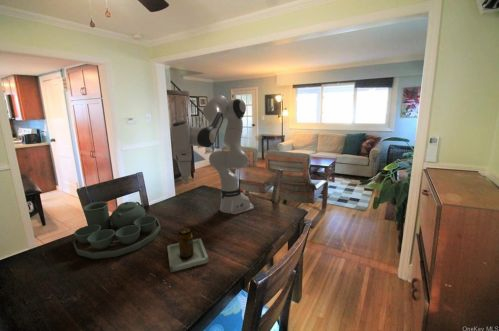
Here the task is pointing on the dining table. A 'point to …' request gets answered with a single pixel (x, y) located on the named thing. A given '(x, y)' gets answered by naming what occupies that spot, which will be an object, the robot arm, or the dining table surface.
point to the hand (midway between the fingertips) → (184, 181)
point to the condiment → (186, 245)
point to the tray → (179, 264)
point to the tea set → (114, 230)
